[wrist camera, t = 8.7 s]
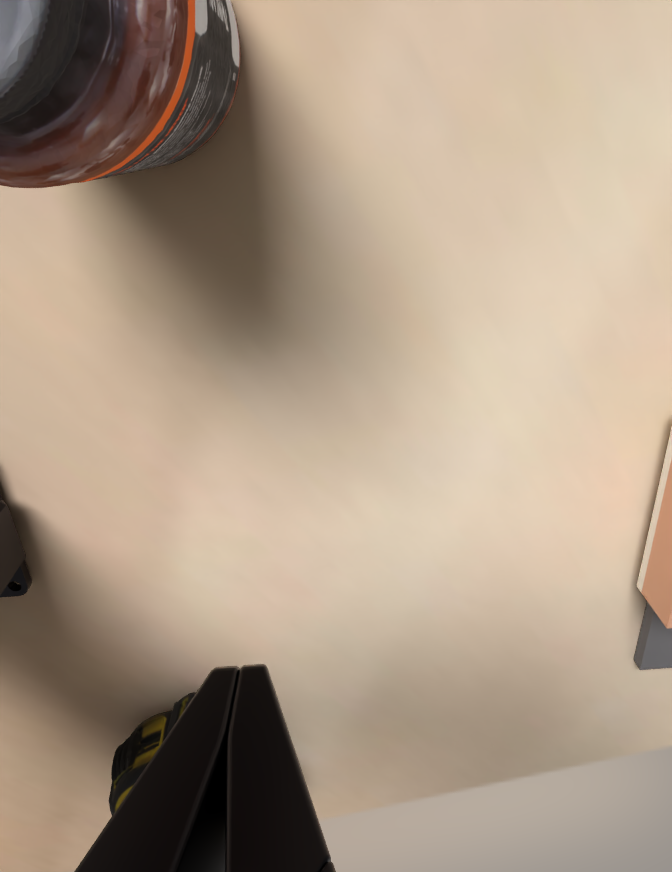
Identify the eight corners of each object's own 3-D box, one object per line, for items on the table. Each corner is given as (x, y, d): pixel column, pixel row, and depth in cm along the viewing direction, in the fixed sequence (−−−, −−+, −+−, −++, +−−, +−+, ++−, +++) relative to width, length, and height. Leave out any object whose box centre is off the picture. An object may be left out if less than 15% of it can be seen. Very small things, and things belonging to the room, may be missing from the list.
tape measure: (293, 747, 30) (291, 824, 27) (186, 799, 32) (172, 878, 29) (206, 668, 28) (193, 742, 24) (94, 728, 29) (67, 806, 26)
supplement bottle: (271, -33, 16) (206, -307, 6) (213, 196, 18) (97, 279, 8) (36, -138, 15) (-541, -700, 5) (8, 121, 17) (-411, 111, 7)
